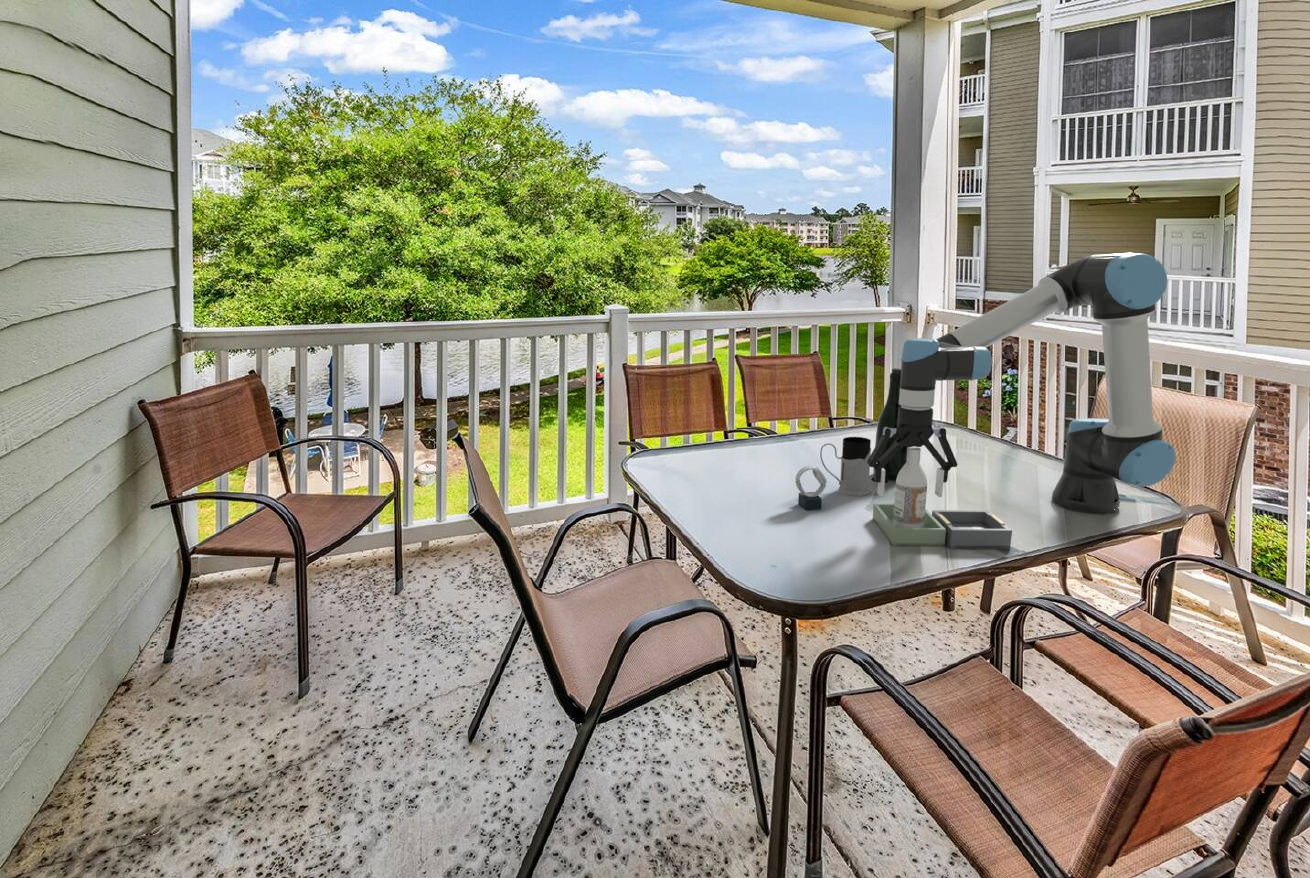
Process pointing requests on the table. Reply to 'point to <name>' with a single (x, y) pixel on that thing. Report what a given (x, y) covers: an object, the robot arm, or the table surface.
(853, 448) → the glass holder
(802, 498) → the watch
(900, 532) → the green tray
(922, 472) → the bath foam
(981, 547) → the gray square tray
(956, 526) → the plate
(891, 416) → the wine bottle
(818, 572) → the table surface
